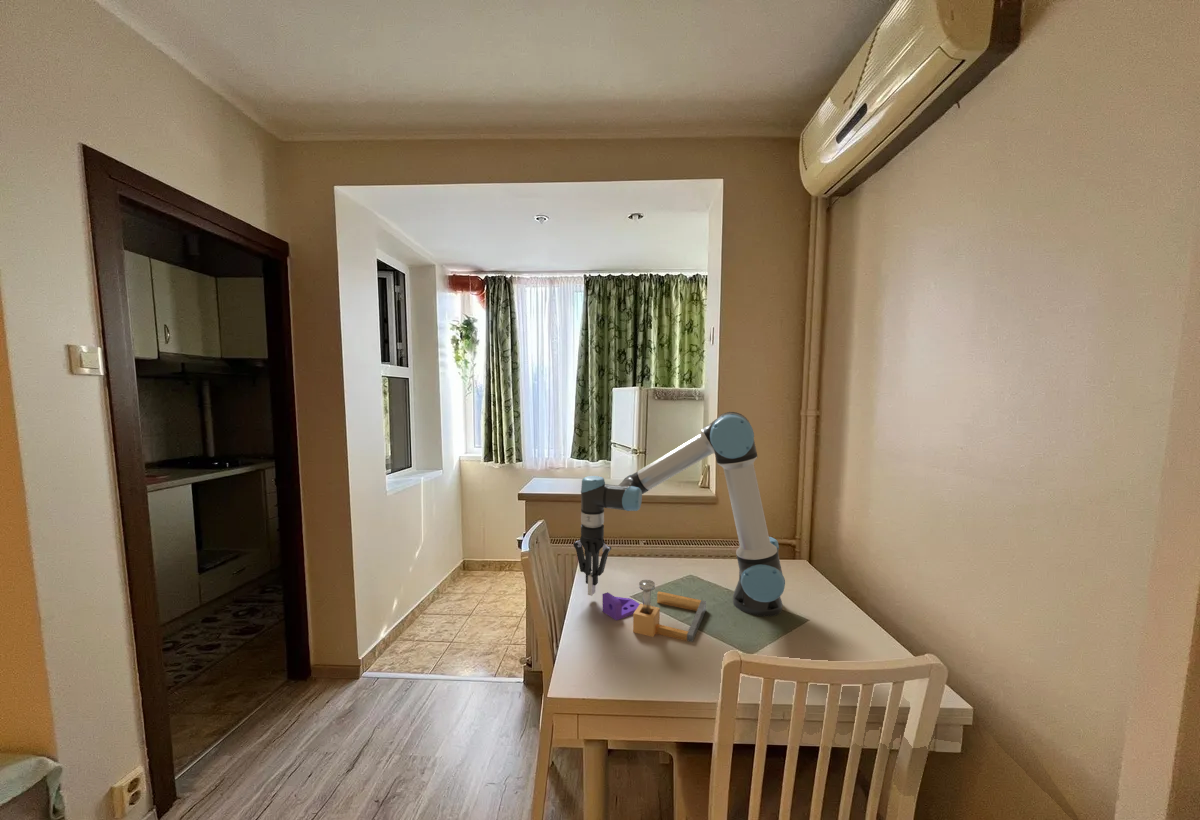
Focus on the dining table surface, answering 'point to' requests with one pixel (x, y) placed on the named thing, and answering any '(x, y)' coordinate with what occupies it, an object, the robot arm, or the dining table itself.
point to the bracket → (618, 606)
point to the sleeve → (646, 621)
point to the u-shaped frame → (687, 604)
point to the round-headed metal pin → (647, 594)
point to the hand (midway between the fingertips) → (591, 593)
